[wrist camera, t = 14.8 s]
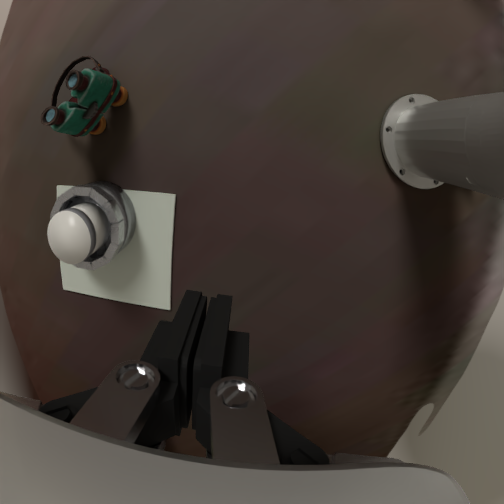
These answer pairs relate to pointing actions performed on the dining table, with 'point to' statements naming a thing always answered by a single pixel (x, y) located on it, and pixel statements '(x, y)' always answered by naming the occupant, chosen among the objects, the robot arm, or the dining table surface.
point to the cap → (78, 232)
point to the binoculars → (84, 100)
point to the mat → (134, 257)
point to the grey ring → (116, 211)
